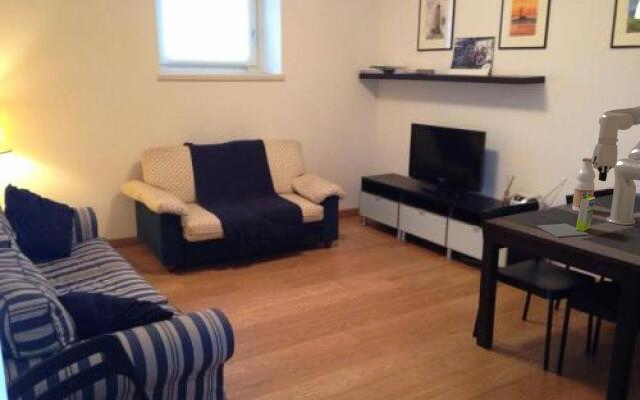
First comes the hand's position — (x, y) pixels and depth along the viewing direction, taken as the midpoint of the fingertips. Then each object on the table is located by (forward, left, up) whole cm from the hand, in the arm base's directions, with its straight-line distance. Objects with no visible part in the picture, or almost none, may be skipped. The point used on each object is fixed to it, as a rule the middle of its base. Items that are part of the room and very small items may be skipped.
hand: (602, 180), depth 255 cm
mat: (+18, -1, -24) cm, 30 cm away
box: (+7, 0, -23) cm, 25 cm away
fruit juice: (-15, -31, -24) cm, 42 cm away
